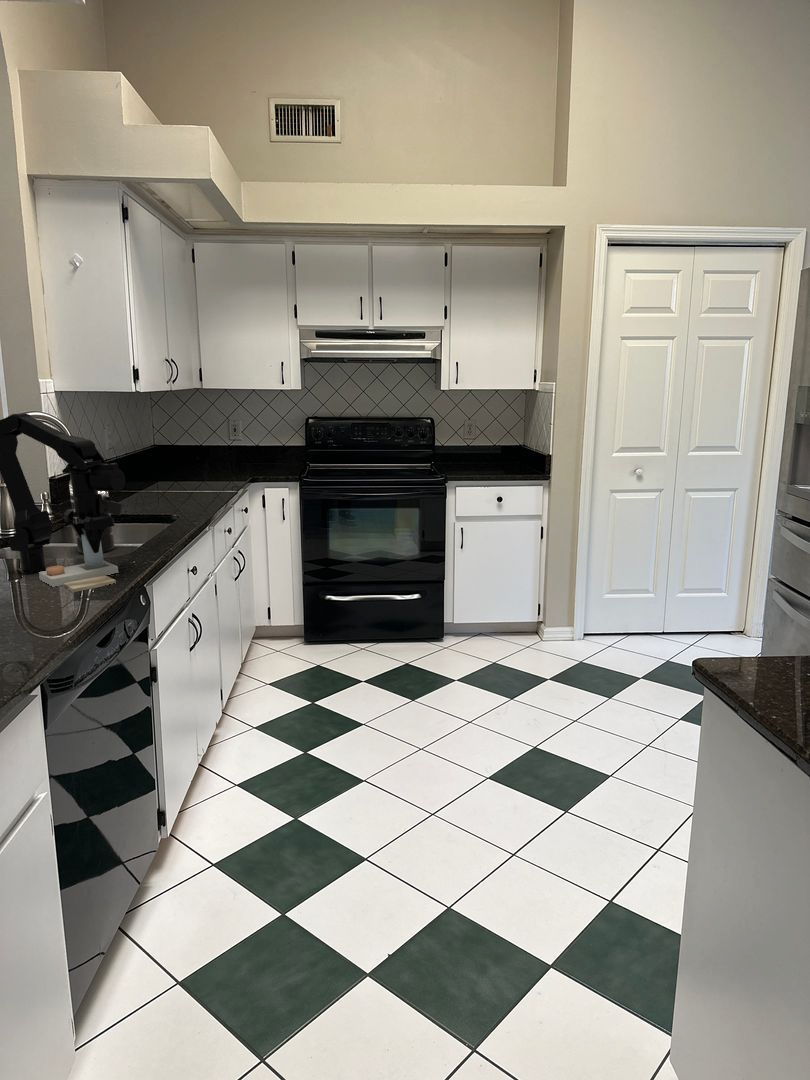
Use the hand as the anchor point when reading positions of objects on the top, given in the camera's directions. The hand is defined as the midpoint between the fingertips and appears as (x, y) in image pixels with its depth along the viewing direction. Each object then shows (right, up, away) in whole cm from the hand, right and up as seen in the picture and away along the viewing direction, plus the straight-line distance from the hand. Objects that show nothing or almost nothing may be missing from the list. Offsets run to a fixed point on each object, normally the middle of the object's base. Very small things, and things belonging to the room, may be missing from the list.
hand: (92, 551), depth 191 cm
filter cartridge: (0, -3, +1) cm, 4 cm away
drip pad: (+3, -8, -9) cm, 13 cm away
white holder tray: (-3, -6, -1) cm, 7 cm away
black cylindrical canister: (-10, 0, +27) cm, 29 cm away
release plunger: (-7, -7, -5) cm, 11 cm away
